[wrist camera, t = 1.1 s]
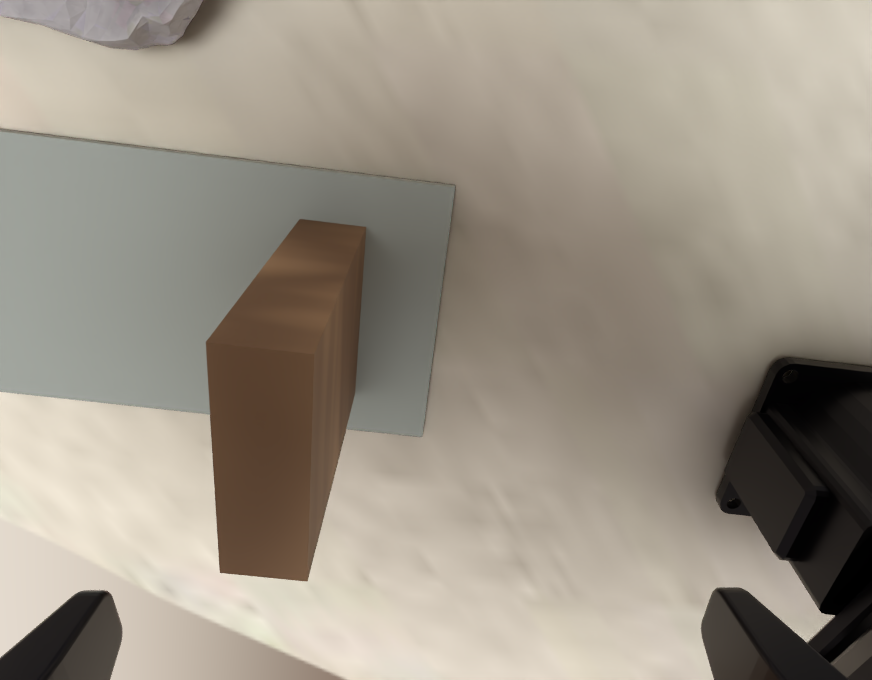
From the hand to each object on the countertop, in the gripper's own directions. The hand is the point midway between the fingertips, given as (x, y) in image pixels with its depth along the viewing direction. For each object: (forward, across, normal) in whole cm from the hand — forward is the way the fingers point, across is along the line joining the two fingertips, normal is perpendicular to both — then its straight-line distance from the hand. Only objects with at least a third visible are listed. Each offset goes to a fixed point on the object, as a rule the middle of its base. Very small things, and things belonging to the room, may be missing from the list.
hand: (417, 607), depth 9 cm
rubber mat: (+12, +7, 0) cm, 14 cm away
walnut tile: (+12, +3, +1) cm, 12 cm away
